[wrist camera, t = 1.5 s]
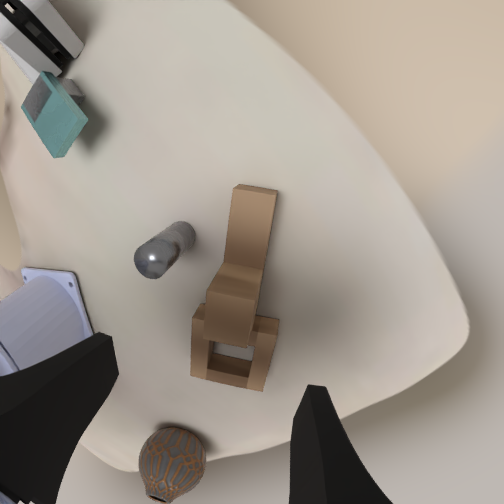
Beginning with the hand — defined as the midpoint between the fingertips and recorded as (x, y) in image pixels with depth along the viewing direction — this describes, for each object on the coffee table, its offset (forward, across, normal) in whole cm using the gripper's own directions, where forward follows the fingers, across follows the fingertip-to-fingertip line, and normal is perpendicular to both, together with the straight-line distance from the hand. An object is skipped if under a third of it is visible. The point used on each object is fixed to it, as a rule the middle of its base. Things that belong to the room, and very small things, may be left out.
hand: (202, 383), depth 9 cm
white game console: (+10, +21, -19) cm, 30 cm away
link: (+9, 0, +1) cm, 10 cm away
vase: (+10, +4, +22) cm, 24 cm away
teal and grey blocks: (+9, +10, -7) cm, 15 cm away
